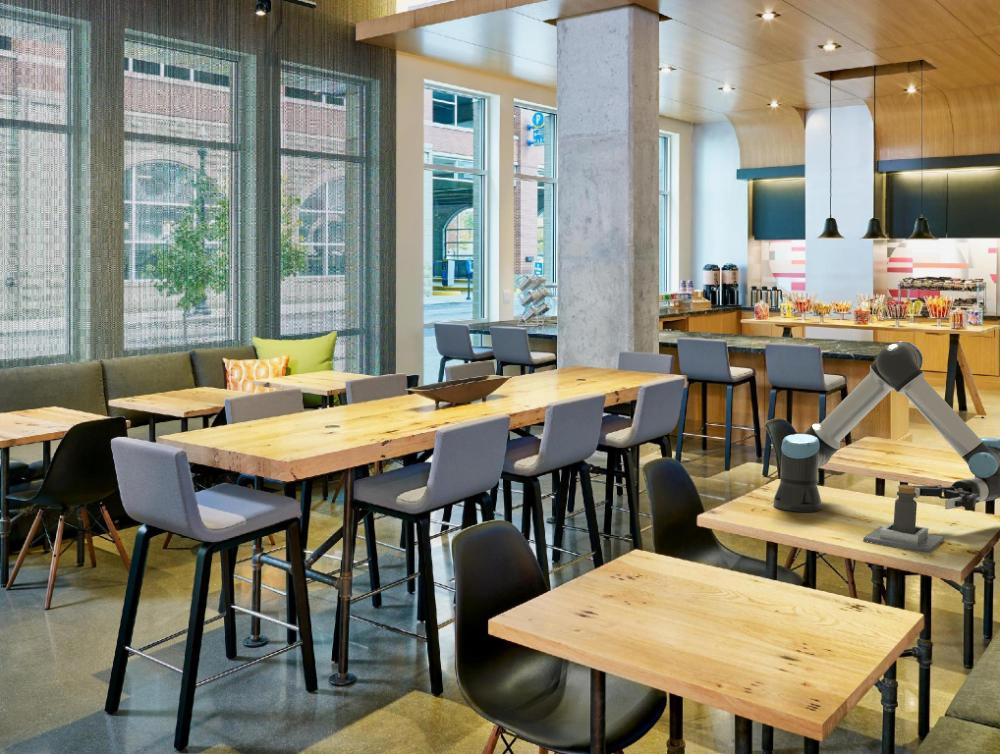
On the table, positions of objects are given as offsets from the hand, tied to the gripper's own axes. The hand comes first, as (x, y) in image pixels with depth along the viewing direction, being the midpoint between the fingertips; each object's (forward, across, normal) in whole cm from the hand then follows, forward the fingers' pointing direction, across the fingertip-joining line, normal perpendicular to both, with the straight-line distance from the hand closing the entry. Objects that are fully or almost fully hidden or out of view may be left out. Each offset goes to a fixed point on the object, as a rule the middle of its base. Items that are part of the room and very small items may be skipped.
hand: (925, 499), depth 288 cm
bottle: (+9, 0, -10) cm, 14 cm away
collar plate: (+9, 0, -11) cm, 14 cm away
